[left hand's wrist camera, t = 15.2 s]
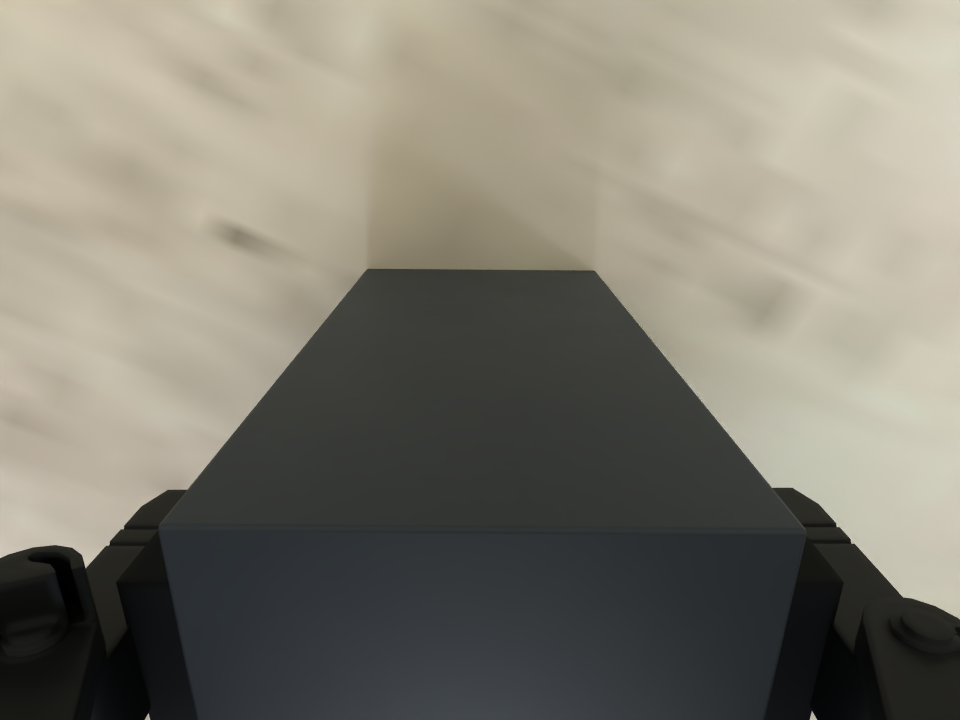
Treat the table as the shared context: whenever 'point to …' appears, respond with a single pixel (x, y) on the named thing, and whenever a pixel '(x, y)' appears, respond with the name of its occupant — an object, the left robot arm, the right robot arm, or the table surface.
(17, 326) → the table surface
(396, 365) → the box
